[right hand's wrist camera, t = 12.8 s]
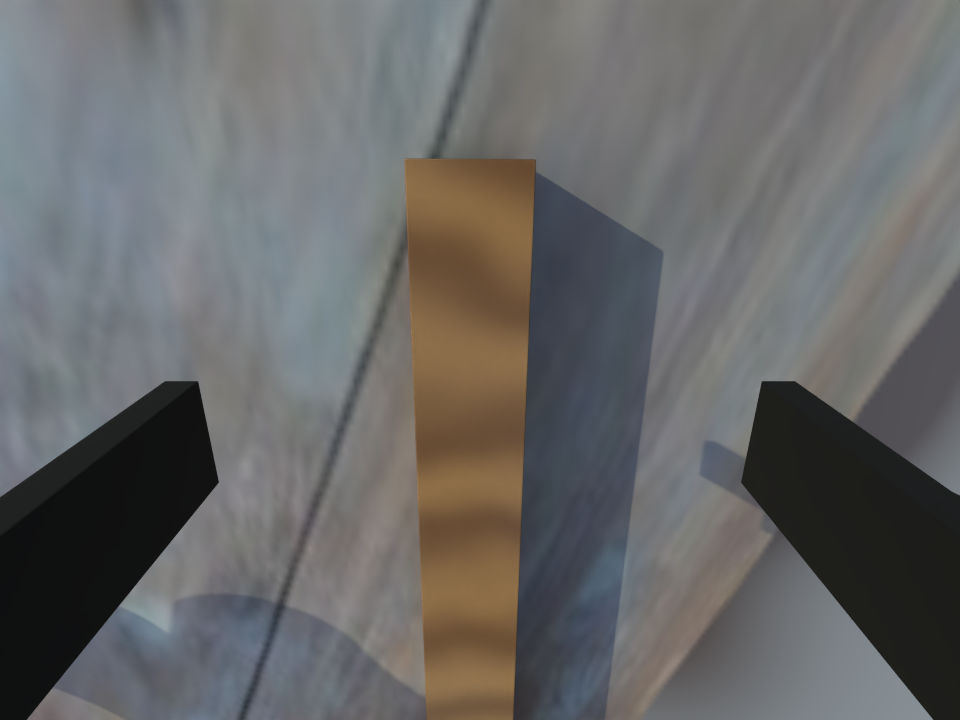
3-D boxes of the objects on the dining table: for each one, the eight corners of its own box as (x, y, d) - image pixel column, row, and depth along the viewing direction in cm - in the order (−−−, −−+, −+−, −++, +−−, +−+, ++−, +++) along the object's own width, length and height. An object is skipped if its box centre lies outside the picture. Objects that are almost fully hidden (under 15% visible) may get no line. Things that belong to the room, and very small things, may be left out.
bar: (421, 160, 30) (404, 158, 22) (520, 161, 30) (536, 159, 22) (439, 785, 48) (433, 899, 41) (500, 785, 48) (506, 897, 41)
